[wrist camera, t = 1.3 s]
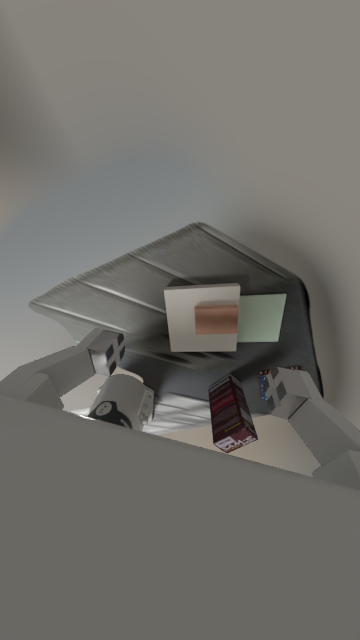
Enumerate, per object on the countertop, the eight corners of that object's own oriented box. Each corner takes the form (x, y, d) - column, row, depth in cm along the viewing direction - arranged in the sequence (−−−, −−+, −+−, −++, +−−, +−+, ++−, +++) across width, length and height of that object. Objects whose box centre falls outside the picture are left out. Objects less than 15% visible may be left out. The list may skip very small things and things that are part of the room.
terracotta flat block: (235, 329, 39) (237, 333, 37) (195, 330, 40) (195, 334, 38) (236, 304, 37) (238, 307, 35) (194, 306, 38) (194, 309, 36)
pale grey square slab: (233, 344, 44) (236, 351, 41) (172, 345, 46) (171, 351, 43) (237, 282, 38) (240, 285, 35) (166, 286, 39) (163, 290, 37)
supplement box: (218, 396, 52) (226, 455, 38) (207, 387, 51) (211, 444, 37) (241, 382, 49) (259, 440, 35) (230, 372, 48) (244, 428, 34)
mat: (277, 340, 42) (278, 341, 42) (235, 341, 44) (235, 342, 43) (285, 293, 38) (286, 294, 37) (237, 295, 39) (238, 296, 38)
